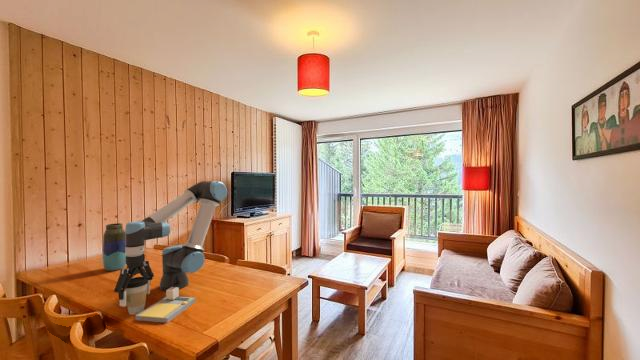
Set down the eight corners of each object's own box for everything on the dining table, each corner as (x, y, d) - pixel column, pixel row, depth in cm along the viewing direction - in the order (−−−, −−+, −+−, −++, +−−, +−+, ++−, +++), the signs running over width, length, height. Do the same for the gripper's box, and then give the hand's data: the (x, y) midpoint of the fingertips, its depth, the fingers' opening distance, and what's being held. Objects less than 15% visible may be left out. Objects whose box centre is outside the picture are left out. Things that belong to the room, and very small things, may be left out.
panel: (134, 320, 120) (134, 315, 120) (167, 299, 141) (167, 294, 141) (166, 323, 118) (166, 317, 118) (195, 301, 138) (195, 296, 138)
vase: (131, 267, 192) (130, 223, 191) (107, 273, 180) (106, 226, 179) (122, 264, 199) (121, 222, 199) (99, 270, 187) (98, 225, 187)
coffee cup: (132, 306, 133) (131, 276, 133) (152, 305, 134) (152, 275, 134) (118, 317, 123) (118, 284, 123) (141, 316, 124) (140, 283, 124)
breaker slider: (166, 299, 136) (166, 289, 136) (171, 295, 140) (171, 286, 140) (173, 299, 135) (173, 290, 135) (178, 296, 139) (178, 287, 139)
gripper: (118, 263, 115) (118, 312, 115) (161, 248, 140) (161, 289, 140) (103, 262, 117) (103, 311, 117) (148, 247, 141) (149, 288, 141)
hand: (135, 299), depth 128 cm, fingers open, 13 cm apart
